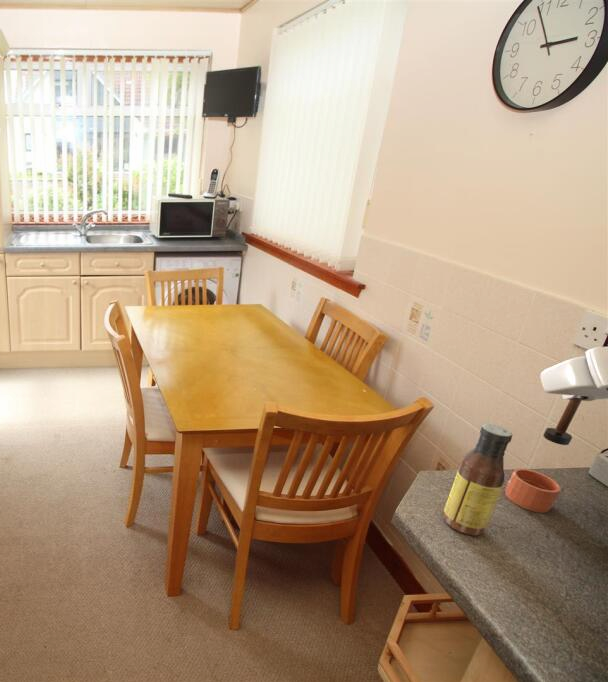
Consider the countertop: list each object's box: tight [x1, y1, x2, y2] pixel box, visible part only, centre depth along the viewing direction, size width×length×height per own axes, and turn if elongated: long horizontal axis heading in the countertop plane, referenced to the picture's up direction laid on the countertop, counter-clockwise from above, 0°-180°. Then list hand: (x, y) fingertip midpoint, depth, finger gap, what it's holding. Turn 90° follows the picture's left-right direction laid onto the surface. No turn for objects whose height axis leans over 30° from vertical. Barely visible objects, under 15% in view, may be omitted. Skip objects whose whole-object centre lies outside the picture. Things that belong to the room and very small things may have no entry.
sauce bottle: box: [443, 423, 513, 537], centre depth 82 cm, size 6×6×20 cm
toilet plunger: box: [543, 396, 584, 446], centre depth 84 cm, size 4×4×16 cm
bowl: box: [504, 468, 562, 514], centre depth 92 cm, size 7×7×5 cm
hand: (574, 396), depth 85 cm, fingers closed on toilet plunger
